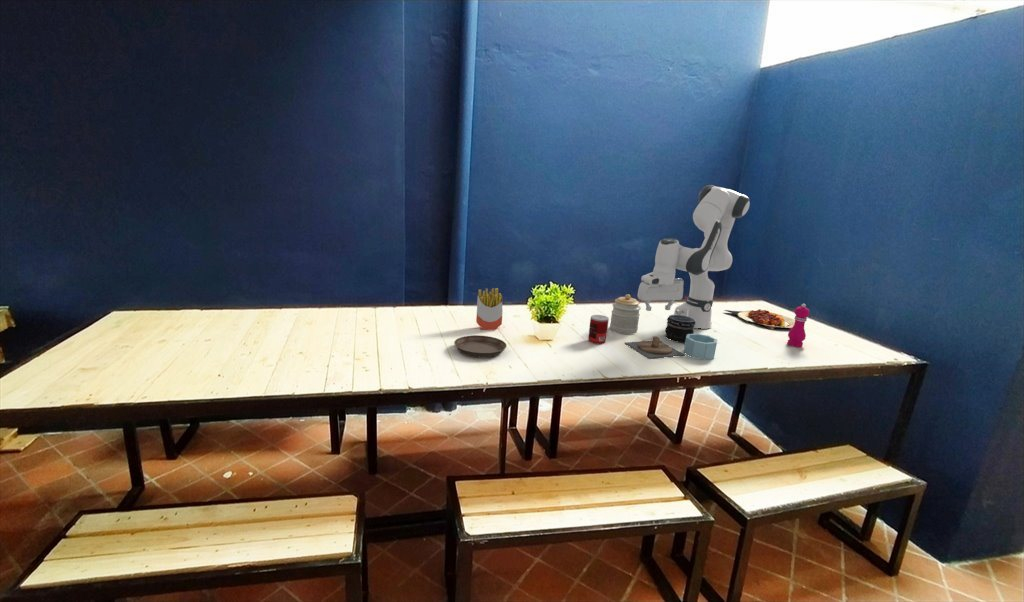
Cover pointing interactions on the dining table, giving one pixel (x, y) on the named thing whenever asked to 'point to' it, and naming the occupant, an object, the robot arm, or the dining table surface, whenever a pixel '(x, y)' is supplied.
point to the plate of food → (765, 318)
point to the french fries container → (489, 310)
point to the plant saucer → (480, 346)
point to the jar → (625, 315)
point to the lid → (655, 346)
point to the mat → (653, 356)
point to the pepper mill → (798, 327)
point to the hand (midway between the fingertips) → (658, 310)
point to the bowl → (700, 346)
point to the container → (679, 327)
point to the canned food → (598, 329)
